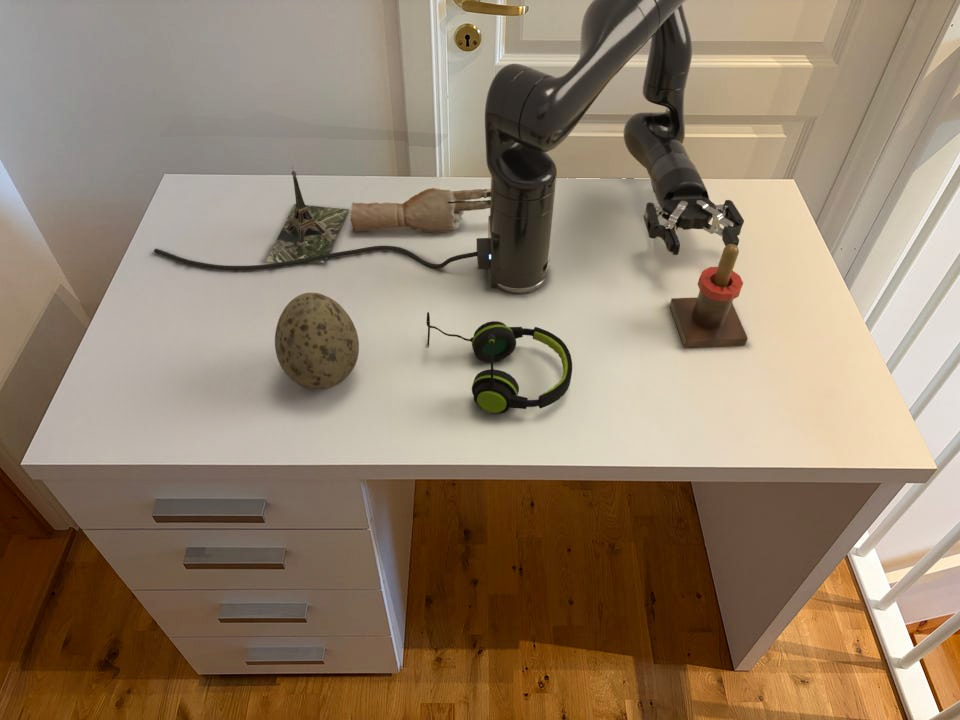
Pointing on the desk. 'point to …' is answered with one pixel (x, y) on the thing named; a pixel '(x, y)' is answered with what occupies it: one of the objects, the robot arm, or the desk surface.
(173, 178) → the desk surface
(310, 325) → the decorative egg
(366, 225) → the mannequin hand
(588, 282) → the desk surface
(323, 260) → the eiffel tower figurine
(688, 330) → the ring stand
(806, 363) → the desk surface
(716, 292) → the ring
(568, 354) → the headphones
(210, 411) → the desk surface
